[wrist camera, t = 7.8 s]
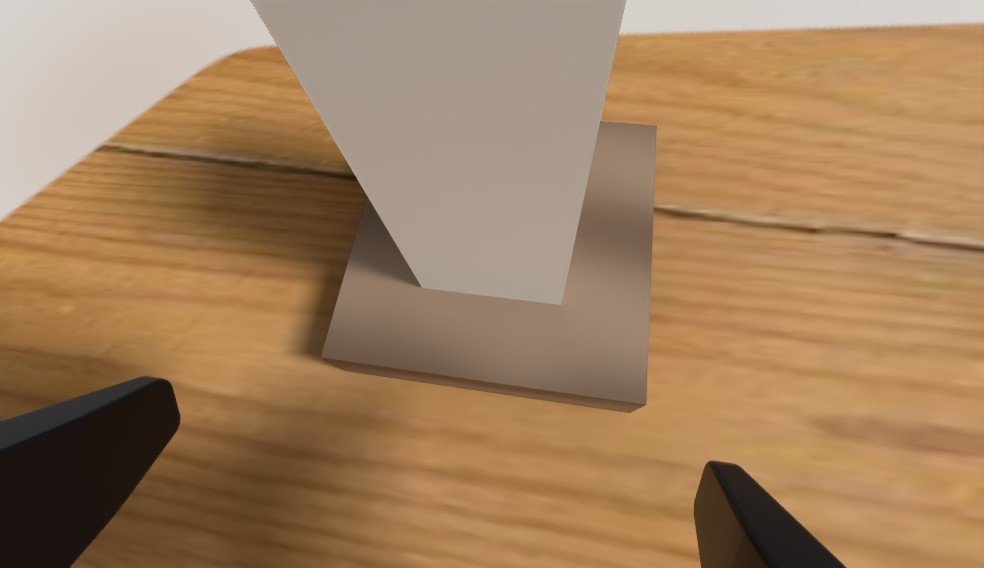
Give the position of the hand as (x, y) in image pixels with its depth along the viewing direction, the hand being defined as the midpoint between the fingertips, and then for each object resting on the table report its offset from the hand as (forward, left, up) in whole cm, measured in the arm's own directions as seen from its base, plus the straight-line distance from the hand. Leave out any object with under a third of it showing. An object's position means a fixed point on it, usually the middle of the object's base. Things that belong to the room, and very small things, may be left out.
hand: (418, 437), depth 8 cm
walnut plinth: (+5, +6, -10) cm, 13 cm away
